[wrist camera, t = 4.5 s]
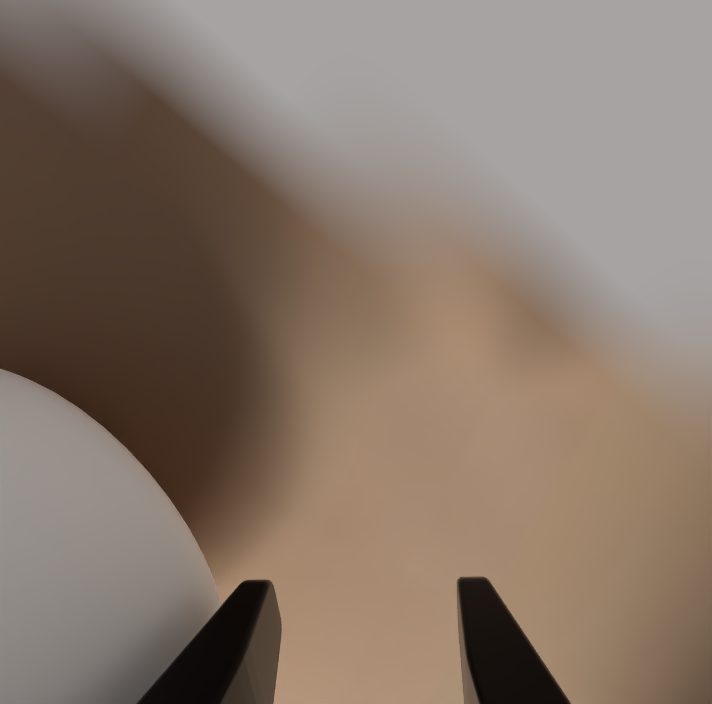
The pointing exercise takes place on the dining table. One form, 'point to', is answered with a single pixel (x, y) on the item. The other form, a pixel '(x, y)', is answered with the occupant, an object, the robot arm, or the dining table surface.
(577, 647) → the dining table surface
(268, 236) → the dining table surface
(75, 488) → the mug
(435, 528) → the dining table surface
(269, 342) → the dining table surface
